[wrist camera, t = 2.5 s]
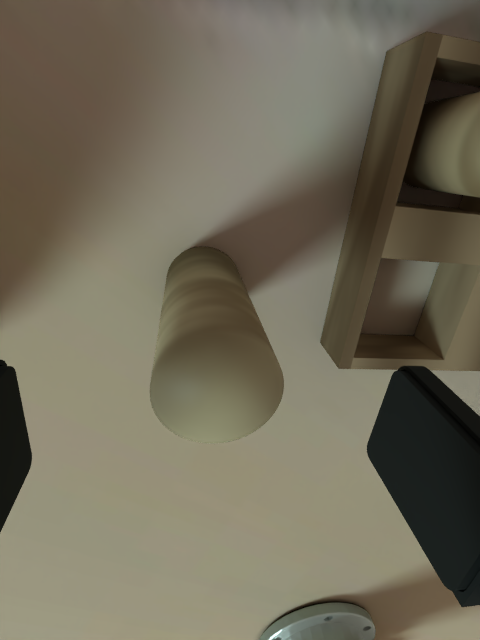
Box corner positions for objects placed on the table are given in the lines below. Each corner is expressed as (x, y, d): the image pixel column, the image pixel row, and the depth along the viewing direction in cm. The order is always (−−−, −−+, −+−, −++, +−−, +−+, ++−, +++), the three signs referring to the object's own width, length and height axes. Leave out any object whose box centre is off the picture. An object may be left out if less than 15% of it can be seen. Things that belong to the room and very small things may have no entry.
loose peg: (253, 272, 20) (310, 371, 11) (213, 327, 21) (234, 459, 12) (191, 231, 18) (197, 307, 9) (152, 293, 19) (124, 413, 10)
